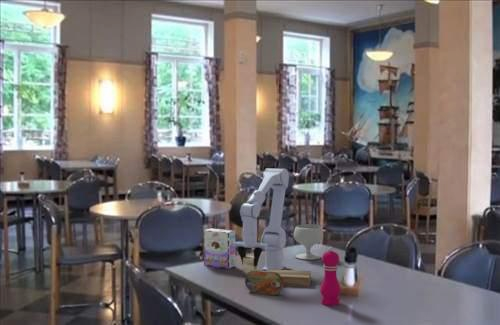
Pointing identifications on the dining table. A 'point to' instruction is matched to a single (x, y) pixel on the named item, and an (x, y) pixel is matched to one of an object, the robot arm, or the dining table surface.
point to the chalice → (308, 239)
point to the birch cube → (249, 263)
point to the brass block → (294, 277)
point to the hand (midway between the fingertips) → (250, 265)
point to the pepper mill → (330, 279)
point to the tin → (264, 282)
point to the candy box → (219, 248)
